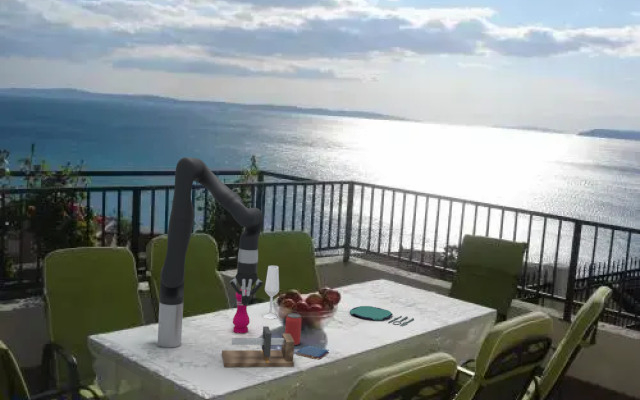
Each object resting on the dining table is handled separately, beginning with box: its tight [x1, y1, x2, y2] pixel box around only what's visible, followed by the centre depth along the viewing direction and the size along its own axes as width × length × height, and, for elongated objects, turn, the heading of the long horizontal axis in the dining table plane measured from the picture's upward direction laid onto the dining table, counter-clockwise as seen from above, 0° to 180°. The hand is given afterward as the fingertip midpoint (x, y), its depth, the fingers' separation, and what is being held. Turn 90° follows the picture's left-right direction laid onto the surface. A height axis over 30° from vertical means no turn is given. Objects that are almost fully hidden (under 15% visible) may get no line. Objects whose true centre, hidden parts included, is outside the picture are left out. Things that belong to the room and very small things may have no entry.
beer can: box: [284, 312, 303, 346], centre depth 284 cm, size 7×7×12 cm
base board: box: [221, 333, 295, 368], centre depth 261 cm, size 26×14×9 cm, turn 102°
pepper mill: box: [232, 288, 250, 334], centre depth 295 cm, size 7×7×20 cm
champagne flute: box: [262, 265, 280, 320], centre depth 320 cm, size 7×7×24 cm
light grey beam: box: [231, 337, 285, 346], centre depth 261 cm, size 20×2×2 cm, turn 102°
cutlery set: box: [349, 305, 415, 327], centre depth 333 cm, size 20×30×2 cm, turn 59°
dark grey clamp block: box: [261, 326, 272, 357], centre depth 262 cm, size 2×9×9 cm, turn 12°
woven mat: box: [295, 345, 330, 361], centre depth 274 cm, size 10×11×2 cm
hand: (244, 304), depth 261 cm, fingers closed
